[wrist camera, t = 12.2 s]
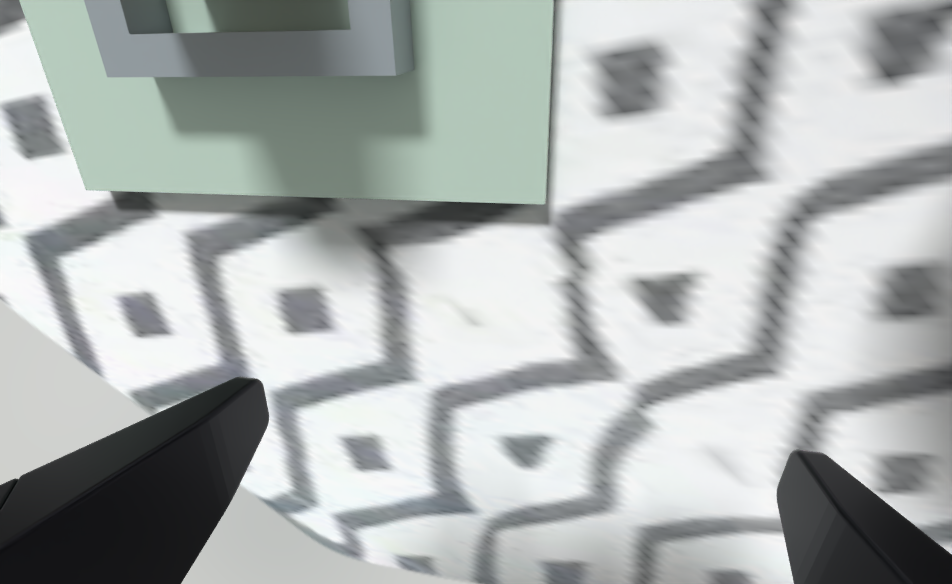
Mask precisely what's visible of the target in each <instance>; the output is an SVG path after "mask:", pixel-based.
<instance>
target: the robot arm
mask: <svg viewBox="0 0 952 584" xmlns="http://www.w3.org/2000/svg"><path fill="white" fill-rule="evenodd" d="M268 422H269V412H268V407H267V402H266V397H265V392H264V387H263V384H262V382H261V381H260V380H258V379H255V378H248V377H236V378H233V379H231V380H229V381H227V382H225V383H222V384H220V385H218V386H216V387H214V388H212V389H209V390H207V391H205V392H203V393H201V394H198V395H196V396H194V397H192V398H190V399H187V400H185V401H183V402H181V403H179V404H177V405H174V406H172V407H170V408H168V409H166V410H163V411H161V412H159V413H157V414H155V415H153V416H150V417H148V418H146V419H144V420H142V421H139V422H137V423H135V424H133V425H131V426H129V427H126V428H124V429H122V430H120V431H118V432H116V433H113V434H111V435H109V436H107V437H105V438H102V439H100V440H98V441H96V442H94V443H91V444H89V445H87V446H85V447H83V448H81V449H78V450H76V451H74V452H72V453H70V454H67V455H65V456H63V457H61V458H59V459H57V460H54V461H52V462H50V463H48V464H46V465H43V466H41V467H39V468H37V469H35V470H33V471H31V472H28V473H26V474H24V475H22V476H21V477H20V478H19V479H13V480H10V481H8V482H6V483H4V484H2V485H0V584H181V583H182V581H183V579H184V578H185V576H186V574H187V573H188V571H189V570H190V568H191V566H192V565H193V563H194V561H195V560H196V558H197V557H198V555H199V553H200V552H201V550H202V548H203V547H204V545H205V543H206V542H207V540H208V539H209V537H210V535H211V534H212V532H213V530H214V529H215V527H216V526H217V524H218V522H219V521H220V519H221V517H222V516H223V514H224V512H225V511H226V509H227V507H228V506H229V504H230V502H231V500H232V498H233V496H234V495H235V493H236V490H237V489H238V487H239V485H240V483H241V480H242V478H243V476H244V474H245V472H246V470H247V468H248V466H249V464H250V462H251V460H252V458H253V456H254V453H255V451H256V449H257V447H258V445H259V443H260V441H261V439H262V437H263V435H264V433H265V431H266V428H267V426H268ZM777 503H778V508H779V513H780V518H781V523H782V528H783V532H784V537H785V542H786V547H787V552H788V556H789V561H790V566H791V571H792V576H793V581H794V584H952V555H951V554H950V553H949V552H948V551H946V550H945V549H944V548H943V547H941V546H940V545H939V544H938V543H936V542H935V541H934V540H932V539H931V538H930V537H929V536H927V535H926V534H925V533H924V532H922V531H921V530H920V529H919V528H917V527H916V526H915V525H914V524H912V523H911V522H910V521H909V520H907V519H906V518H905V517H904V516H902V515H901V514H900V513H899V512H897V511H896V510H895V509H893V508H892V507H891V506H890V505H888V504H887V503H886V502H885V501H883V500H882V499H881V498H880V497H878V496H877V495H876V494H875V493H873V492H872V491H871V490H870V489H868V488H867V487H866V486H865V485H863V484H862V483H861V482H860V481H858V480H857V479H856V478H854V477H853V476H852V475H851V474H849V473H848V472H847V471H846V470H844V469H843V468H842V467H841V466H839V465H838V464H837V463H836V462H834V461H833V460H832V459H831V458H829V457H828V456H827V455H825V454H823V453H821V452H815V451H807V450H799V449H798V450H794V451H793V452H792V453H791V454H790V456H789V458H788V461H787V463H786V466H785V469H784V471H783V474H782V476H781V479H780V482H779V484H778V488H777Z"/></svg>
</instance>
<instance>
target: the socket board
mask: <svg viewBox="0 0 952 584" xmlns="http://www.w3.org/2000/svg"><path fill="white" fill-rule="evenodd" d="M19 1H20V3H21V6H22V9H23V12H24V15H25V18H26V21H27V23H28V26H29V29H30V32H31V35H32V38H33V41H34V43H35V46H36V49H37V52H38V55H39V58H40V60H41V63H42V66H43V69H44V72H45V75H46V78H47V80H48V83H49V86H50V89H51V92H52V95H53V97H54V100H55V103H56V106H57V109H58V112H59V115H60V117H61V120H62V123H63V126H64V129H65V132H66V134H67V137H68V140H69V143H70V146H71V149H72V152H73V154H74V157H75V160H76V163H77V166H78V169H79V171H80V174H81V177H82V180H83V183H84V186H85V189H86V190H96V191H128V192H160V193H192V194H224V195H256V196H288V197H320V198H352V199H384V200H416V201H448V202H480V203H512V204H544V205H545V201H546V194H547V169H548V144H549V119H550V94H551V69H552V44H553V19H554V0H19Z"/></svg>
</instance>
